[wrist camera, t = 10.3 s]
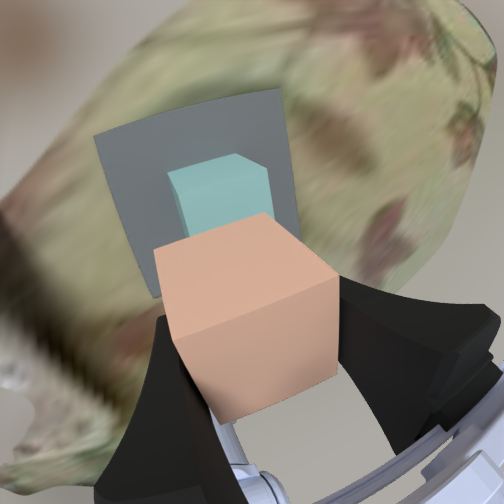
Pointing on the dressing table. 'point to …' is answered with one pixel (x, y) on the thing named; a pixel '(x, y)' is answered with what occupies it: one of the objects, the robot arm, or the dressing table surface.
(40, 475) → the dressing table surface
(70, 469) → the dressing table surface
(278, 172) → the mat
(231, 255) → the peach block
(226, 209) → the teal brick
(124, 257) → the dressing table surface
